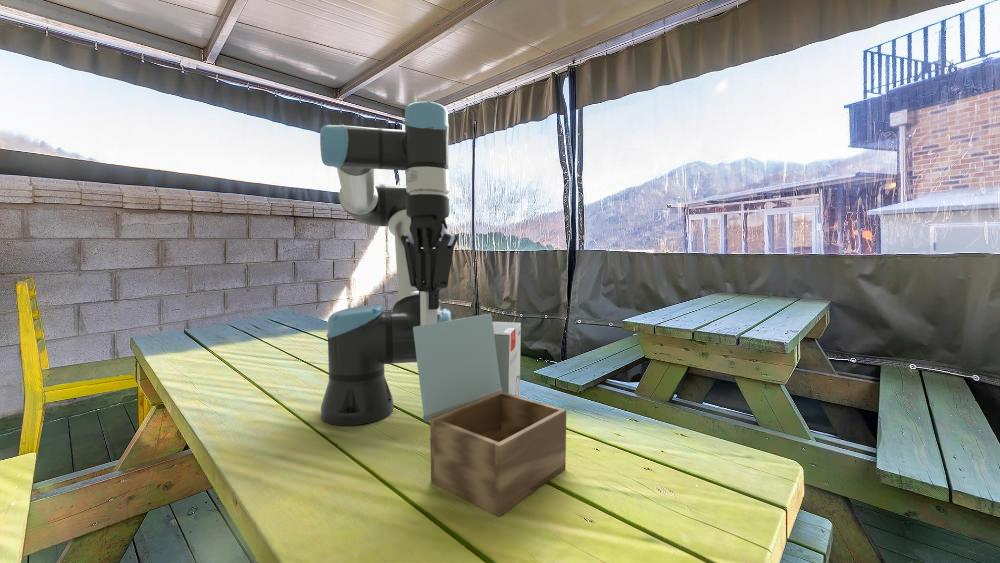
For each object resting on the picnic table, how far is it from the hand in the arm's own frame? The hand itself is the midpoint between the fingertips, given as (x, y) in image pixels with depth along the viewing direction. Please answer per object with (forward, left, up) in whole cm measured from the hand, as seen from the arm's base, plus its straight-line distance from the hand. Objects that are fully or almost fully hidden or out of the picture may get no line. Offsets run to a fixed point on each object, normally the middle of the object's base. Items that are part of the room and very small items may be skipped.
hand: (429, 326), depth 79 cm
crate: (+17, 0, -22) cm, 28 cm away
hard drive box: (+2, +17, -22) cm, 28 cm away
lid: (+8, 0, -5) cm, 10 cm away
